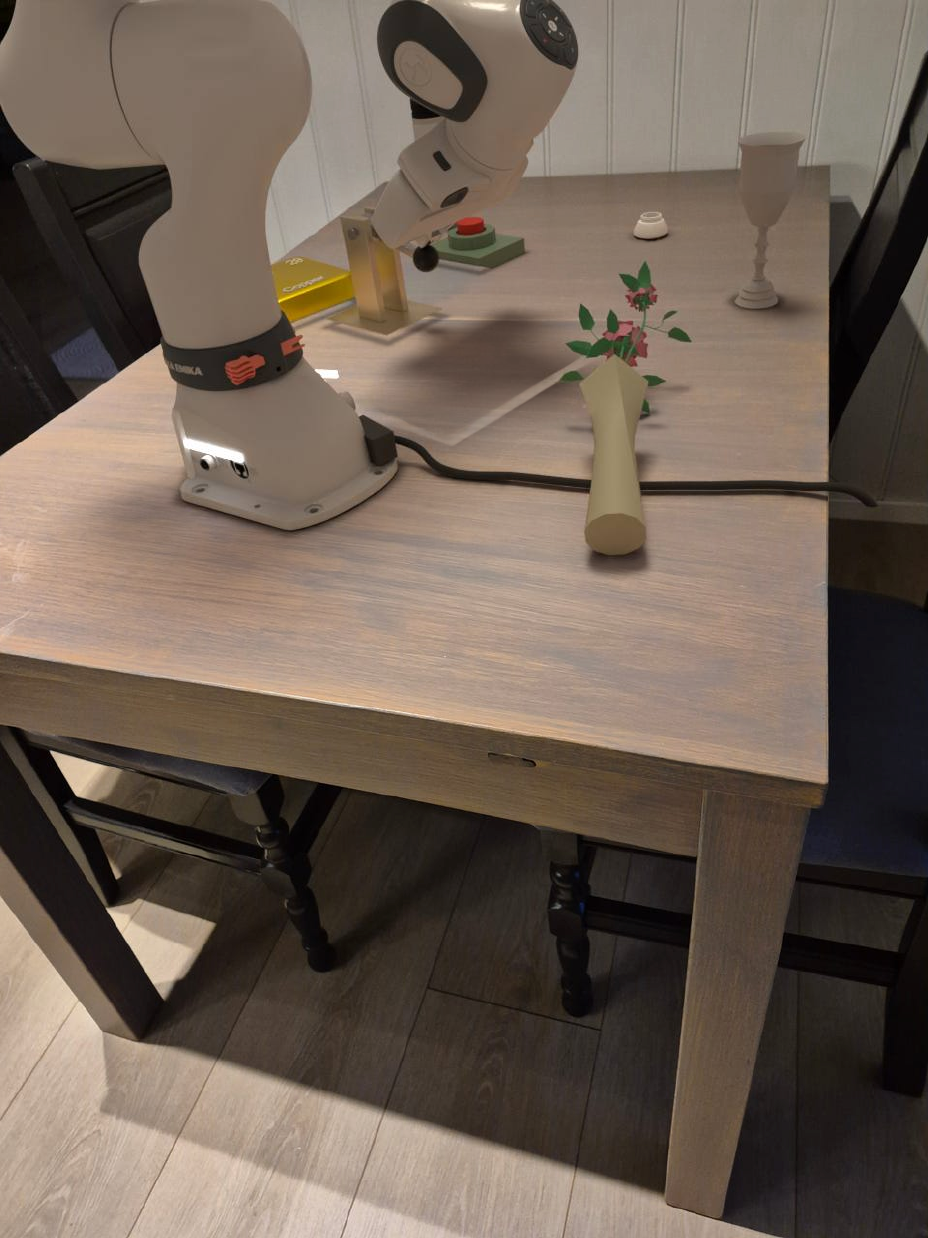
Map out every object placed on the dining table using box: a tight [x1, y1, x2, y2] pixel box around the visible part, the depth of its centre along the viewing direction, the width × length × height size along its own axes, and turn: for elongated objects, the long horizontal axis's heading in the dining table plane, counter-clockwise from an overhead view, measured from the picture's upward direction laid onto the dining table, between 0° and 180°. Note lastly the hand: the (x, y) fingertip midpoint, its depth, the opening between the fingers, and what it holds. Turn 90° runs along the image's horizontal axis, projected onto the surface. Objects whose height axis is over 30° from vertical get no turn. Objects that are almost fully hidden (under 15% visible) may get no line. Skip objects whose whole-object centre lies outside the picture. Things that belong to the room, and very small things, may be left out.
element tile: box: [271, 255, 355, 324], centre depth 125 cm, size 15×15×5 cm
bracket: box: [326, 205, 443, 337], centre depth 114 cm, size 12×10×14 cm
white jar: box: [633, 211, 669, 240], centre depth 133 cm, size 5×3×5 cm
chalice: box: [734, 131, 807, 310], centre depth 104 cm, size 7×7×18 cm
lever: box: [357, 212, 440, 273], centre depth 109 cm, size 13×3×3 cm, turn 47°
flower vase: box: [558, 260, 693, 556], centre depth 82 cm, size 12×12×35 cm
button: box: [457, 216, 485, 236], centre depth 132 cm, size 4×4×2 cm
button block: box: [430, 223, 526, 269], centre depth 134 cm, size 12×10×4 cm
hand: (425, 239), depth 105 cm, fingers closed
